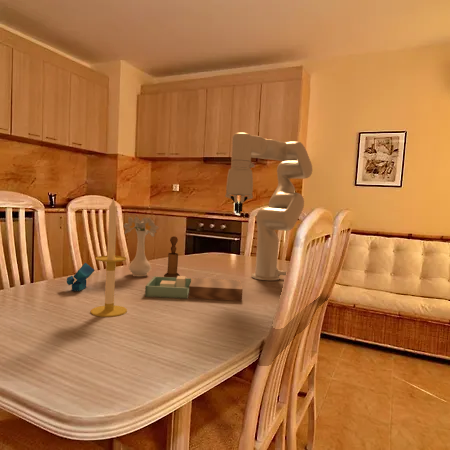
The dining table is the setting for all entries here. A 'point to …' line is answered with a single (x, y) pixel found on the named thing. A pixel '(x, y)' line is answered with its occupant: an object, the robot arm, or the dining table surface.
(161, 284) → the tile
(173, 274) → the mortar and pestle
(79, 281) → the crystal
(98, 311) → the candle
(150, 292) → the tray
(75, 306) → the dining table surface
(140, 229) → the flower vase
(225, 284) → the board
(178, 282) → the tile
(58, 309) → the dining table surface
